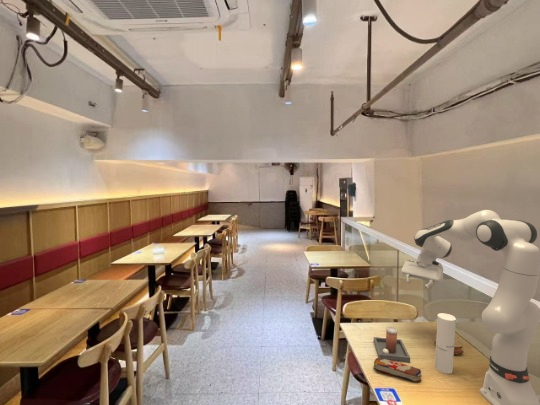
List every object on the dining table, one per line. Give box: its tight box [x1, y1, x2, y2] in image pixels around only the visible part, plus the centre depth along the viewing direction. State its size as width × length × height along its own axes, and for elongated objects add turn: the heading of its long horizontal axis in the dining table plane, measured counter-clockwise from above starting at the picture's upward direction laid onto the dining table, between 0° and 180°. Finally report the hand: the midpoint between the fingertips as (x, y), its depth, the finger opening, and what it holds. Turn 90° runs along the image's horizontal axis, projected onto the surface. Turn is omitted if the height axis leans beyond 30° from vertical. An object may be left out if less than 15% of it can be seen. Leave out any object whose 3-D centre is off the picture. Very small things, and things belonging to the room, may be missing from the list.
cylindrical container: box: [434, 312, 457, 375], centre depth 136 cm, size 7×7×25 cm
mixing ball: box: [382, 349, 389, 354], centre depth 147 cm, size 3×3×3 cm
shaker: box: [385, 326, 398, 353], centre depth 150 cm, size 5×5×11 cm
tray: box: [373, 336, 411, 364], centre depth 150 cm, size 16×14×2 cm
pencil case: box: [373, 357, 423, 382], centre depth 134 cm, size 11×20×5 cm, turn 50°
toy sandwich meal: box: [433, 340, 465, 355], centre depth 154 cm, size 12×14×5 cm
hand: (417, 285), depth 157 cm, fingers open, 8 cm apart
